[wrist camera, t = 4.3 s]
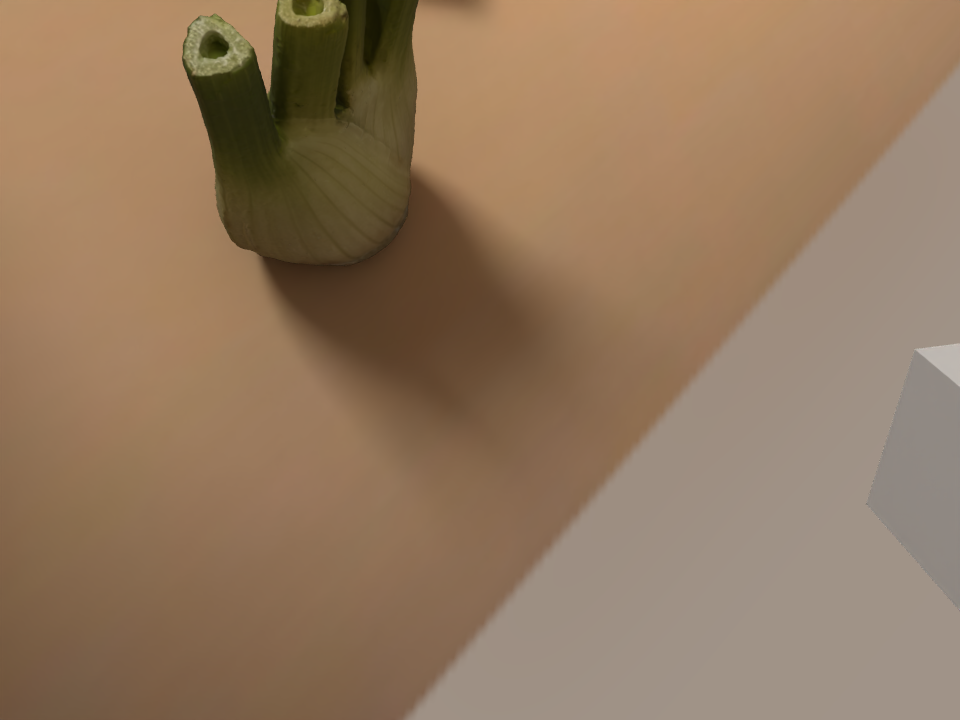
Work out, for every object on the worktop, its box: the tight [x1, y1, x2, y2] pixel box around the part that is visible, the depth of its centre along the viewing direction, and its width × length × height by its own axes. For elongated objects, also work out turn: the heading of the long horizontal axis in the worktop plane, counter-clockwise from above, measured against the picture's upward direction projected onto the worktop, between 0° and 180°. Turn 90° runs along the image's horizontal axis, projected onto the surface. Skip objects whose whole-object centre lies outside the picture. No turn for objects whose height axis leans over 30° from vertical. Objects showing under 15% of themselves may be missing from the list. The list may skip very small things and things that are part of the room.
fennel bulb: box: [182, 0, 418, 266], centre depth 22 cm, size 6×5×12 cm
